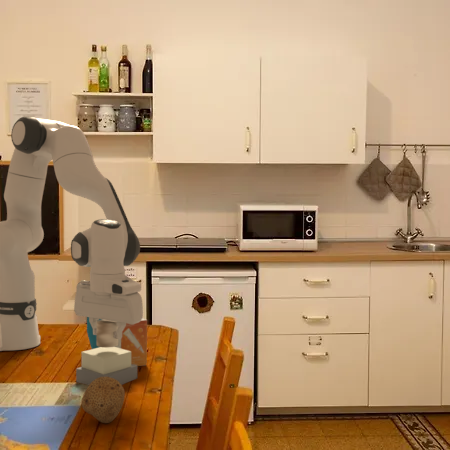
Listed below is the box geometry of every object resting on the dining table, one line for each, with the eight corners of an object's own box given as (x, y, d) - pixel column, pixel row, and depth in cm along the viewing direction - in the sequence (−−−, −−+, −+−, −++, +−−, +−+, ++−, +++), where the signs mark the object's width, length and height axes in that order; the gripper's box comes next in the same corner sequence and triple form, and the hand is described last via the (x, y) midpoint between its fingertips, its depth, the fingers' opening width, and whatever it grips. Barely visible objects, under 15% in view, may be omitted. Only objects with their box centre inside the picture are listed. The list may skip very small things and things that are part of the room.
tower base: (76, 383, 163) (76, 368, 162) (105, 373, 172) (105, 358, 172) (109, 391, 157) (109, 376, 157) (137, 380, 167) (137, 365, 166)
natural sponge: (77, 430, 132) (77, 383, 131) (86, 414, 141) (86, 370, 140) (121, 431, 132) (121, 384, 131) (127, 415, 141) (127, 370, 140)
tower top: (81, 367, 164) (81, 351, 164) (109, 359, 171) (109, 345, 170) (103, 374, 158) (103, 358, 158) (131, 366, 165) (131, 351, 165)
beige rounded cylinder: (92, 345, 163) (92, 322, 162) (106, 340, 167) (106, 318, 167) (108, 348, 160) (108, 325, 159) (122, 343, 165) (122, 320, 164)
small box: (120, 369, 174) (120, 322, 173) (111, 363, 179) (111, 318, 178) (147, 365, 178) (147, 319, 177) (137, 359, 183) (137, 315, 182)
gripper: (68, 281, 165) (68, 333, 166) (130, 289, 155) (130, 344, 156) (85, 278, 170) (85, 328, 171) (146, 285, 160) (146, 339, 161)
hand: (107, 336), depth 163 cm, fingers closed on beige rounded cylinder, 5 cm apart
